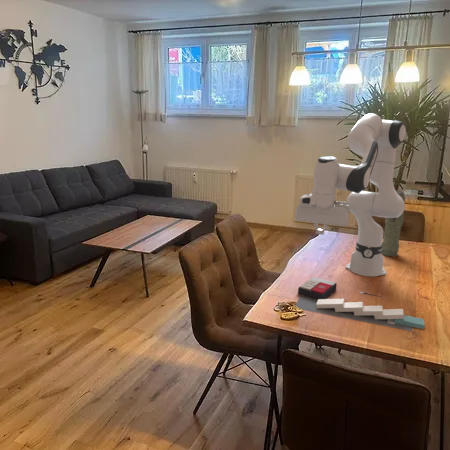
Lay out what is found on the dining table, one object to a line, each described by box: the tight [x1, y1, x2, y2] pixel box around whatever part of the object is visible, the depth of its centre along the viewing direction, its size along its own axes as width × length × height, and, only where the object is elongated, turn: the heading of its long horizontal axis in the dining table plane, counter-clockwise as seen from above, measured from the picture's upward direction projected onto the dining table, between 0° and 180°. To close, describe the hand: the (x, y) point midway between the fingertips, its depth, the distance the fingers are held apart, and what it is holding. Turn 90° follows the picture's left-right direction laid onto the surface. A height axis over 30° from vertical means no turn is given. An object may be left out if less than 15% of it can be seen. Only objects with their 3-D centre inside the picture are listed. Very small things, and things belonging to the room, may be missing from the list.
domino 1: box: [316, 298, 345, 308], centre depth 162 cm, size 2×5×10 cm
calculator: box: [297, 276, 338, 300], centre depth 177 cm, size 11×4×15 cm
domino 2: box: [335, 301, 364, 312], centre depth 160 cm, size 2×5×10 cm
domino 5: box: [394, 314, 426, 330], centre depth 153 cm, size 2×5×10 cm
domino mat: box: [294, 295, 413, 332], centre depth 160 cm, size 12×42×1 cm, turn 70°
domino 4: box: [374, 308, 405, 319], centre depth 155 cm, size 2×5×10 cm
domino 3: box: [354, 305, 384, 316], centre depth 158 cm, size 2×5×10 cm
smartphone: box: [359, 291, 387, 299], centre depth 174 cm, size 7×15×1 cm, turn 59°
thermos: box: [381, 190, 406, 258], centre depth 228 cm, size 9×12×35 cm
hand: (319, 233), depth 165 cm, fingers closed
